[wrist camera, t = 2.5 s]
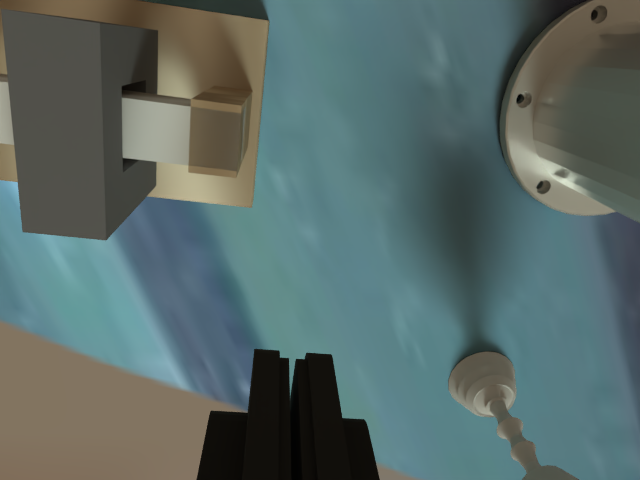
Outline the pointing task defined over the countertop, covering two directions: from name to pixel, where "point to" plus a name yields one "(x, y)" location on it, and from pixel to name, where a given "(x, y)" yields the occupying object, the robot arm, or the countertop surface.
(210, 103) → the pipe rig
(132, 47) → the collar
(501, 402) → the chalice
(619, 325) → the countertop surface
